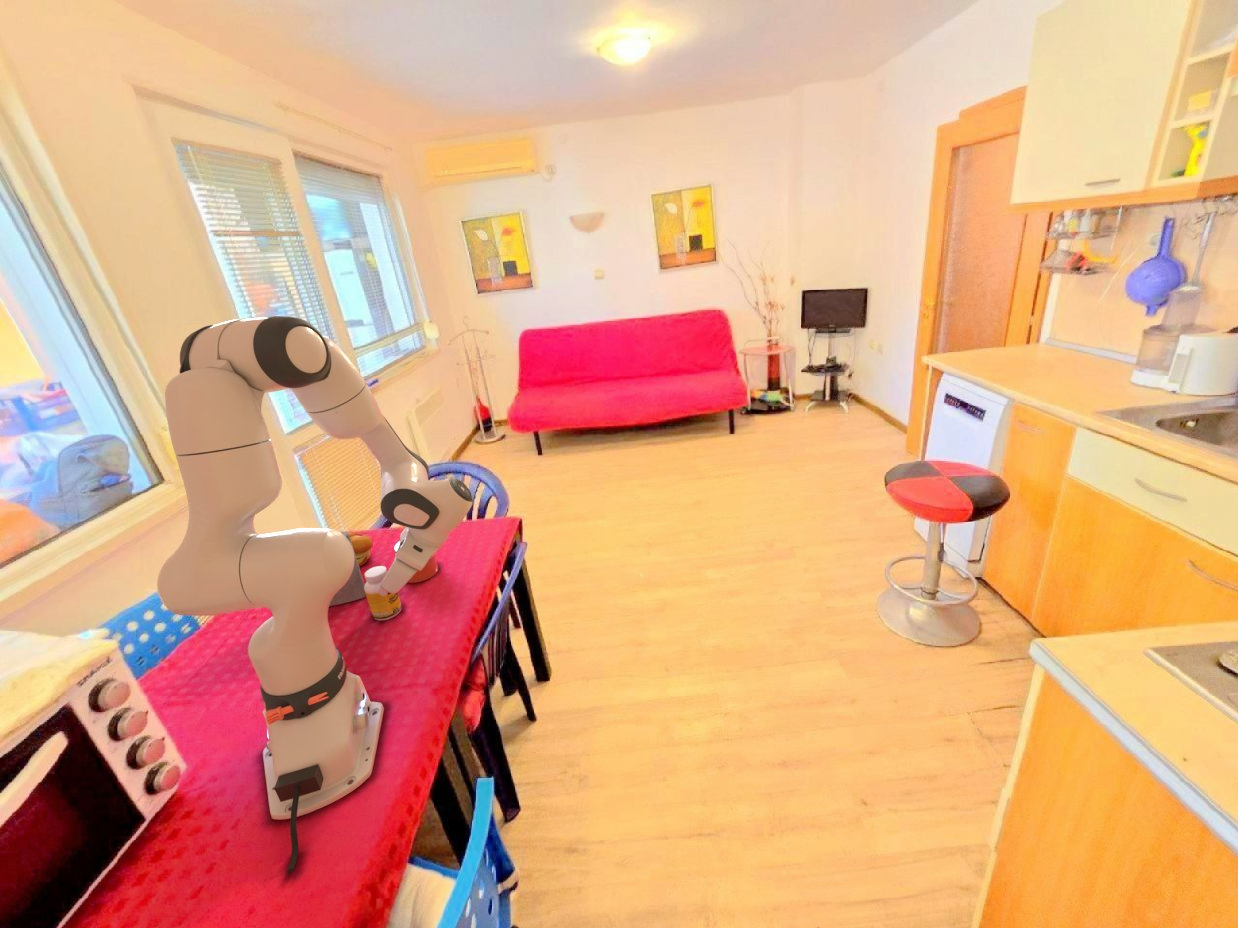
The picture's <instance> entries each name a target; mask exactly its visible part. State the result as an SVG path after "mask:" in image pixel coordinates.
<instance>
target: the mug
mask: <svg viewBox="0 0 1238 928" xmlns="http://www.w3.org/2000/svg"><path fill="white" fill-rule="evenodd" d="M399 542H400V541H398V542H397V543H396V544H395V545H394V552H395V553H394V554H396V551H397V549H398V546H399ZM438 571H439V565H438V563H437V559H436V554H435V555H434V556H433V557H432V558H431V559H429V561H428V563H427V564H426V565H425V567H424V568H423V569H422V570H421V571H419V570H418V571H417V572H416V573H415V574H414V575H413V577H412V578H411V579H410V580H409V581H408V582H407V583H409V584H414V583H420V582H424V581H426V580H428V579H431V578H432V577H434V576H436V574H437V573H438Z"/></svg>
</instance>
